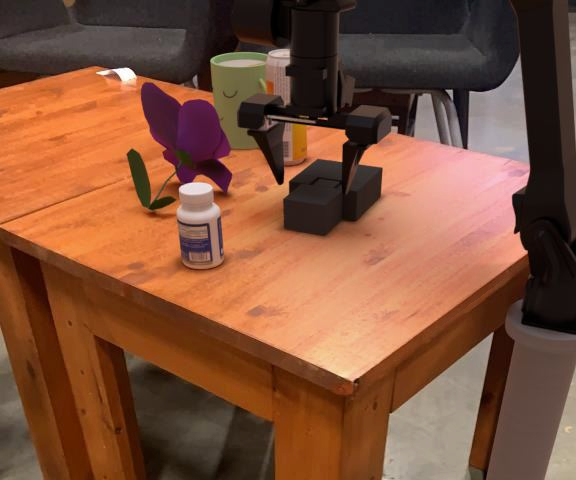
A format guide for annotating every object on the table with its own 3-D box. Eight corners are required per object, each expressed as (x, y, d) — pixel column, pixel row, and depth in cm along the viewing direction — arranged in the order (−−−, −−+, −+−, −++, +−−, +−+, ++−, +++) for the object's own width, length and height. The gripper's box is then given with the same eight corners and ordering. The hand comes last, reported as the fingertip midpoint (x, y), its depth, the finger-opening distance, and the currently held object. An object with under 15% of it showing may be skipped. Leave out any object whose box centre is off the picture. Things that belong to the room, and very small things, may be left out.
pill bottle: (202, 248, 98) (196, 176, 92) (232, 259, 95) (228, 186, 89) (172, 262, 95) (163, 189, 89) (203, 274, 92) (196, 199, 86)
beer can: (308, 154, 124) (308, 48, 114) (305, 166, 120) (305, 58, 110) (271, 153, 125) (268, 48, 115) (266, 166, 120) (263, 57, 110)
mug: (203, 138, 131) (196, 59, 123) (252, 126, 135) (249, 49, 127) (245, 157, 123) (241, 74, 115) (296, 144, 128) (295, 63, 120)
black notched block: (381, 196, 110) (382, 167, 107) (355, 221, 104) (357, 191, 101) (317, 186, 113) (317, 158, 111) (289, 210, 107) (288, 181, 104)
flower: (208, 254, 108) (254, 183, 111) (164, 172, 95) (219, 93, 98) (131, 233, 114) (177, 165, 117) (79, 153, 101) (133, 79, 104)
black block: (349, 212, 106) (350, 183, 103) (325, 236, 100) (325, 205, 97) (309, 206, 108) (309, 177, 105) (283, 228, 102) (283, 198, 99)
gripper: (411, 45, 92) (400, 178, 102) (272, 33, 98) (275, 160, 108) (380, 66, 85) (371, 208, 95) (231, 52, 90) (238, 187, 101)
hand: (312, 189), depth 100 cm, fingers open, 9 cm apart
